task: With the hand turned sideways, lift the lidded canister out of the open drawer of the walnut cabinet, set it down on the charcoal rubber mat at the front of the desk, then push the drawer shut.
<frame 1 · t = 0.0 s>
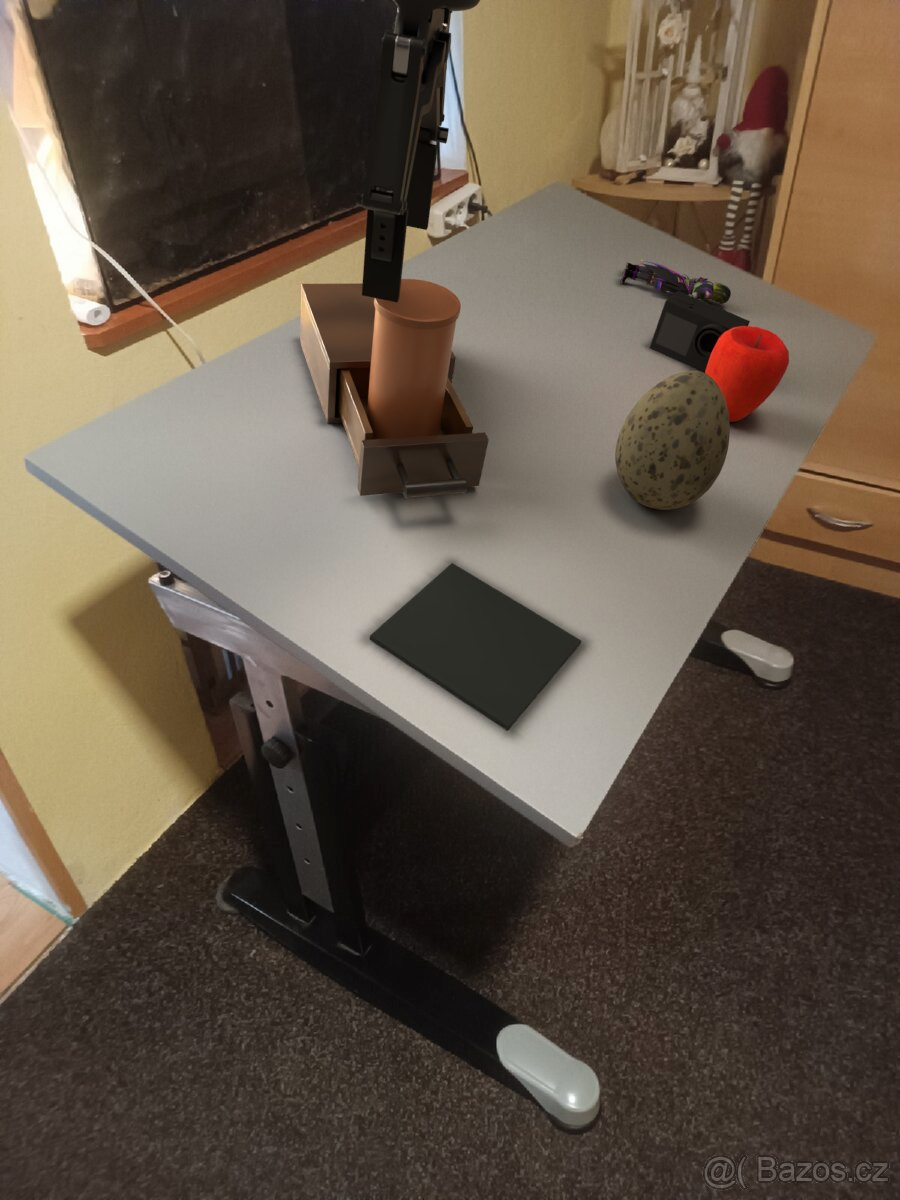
hand: (397, 259, 66), 24 cm above the table, tool pointing down, fingers open, 13 cm apart
apple: (723, 416, 103), on the table
mat: (476, 642, 71), on the table
cabinet: (370, 379, 97), on the table
decorative egg: (649, 500, 89), on the table
digital camera: (686, 361, 111), on the table
drawer: (409, 433, 84), point 4 cm above the table, slide at 12.0 cm, touching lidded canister
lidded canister: (401, 434, 87), point 2 cm above the table, touching drawer
character figure: (672, 296, 124), on the table
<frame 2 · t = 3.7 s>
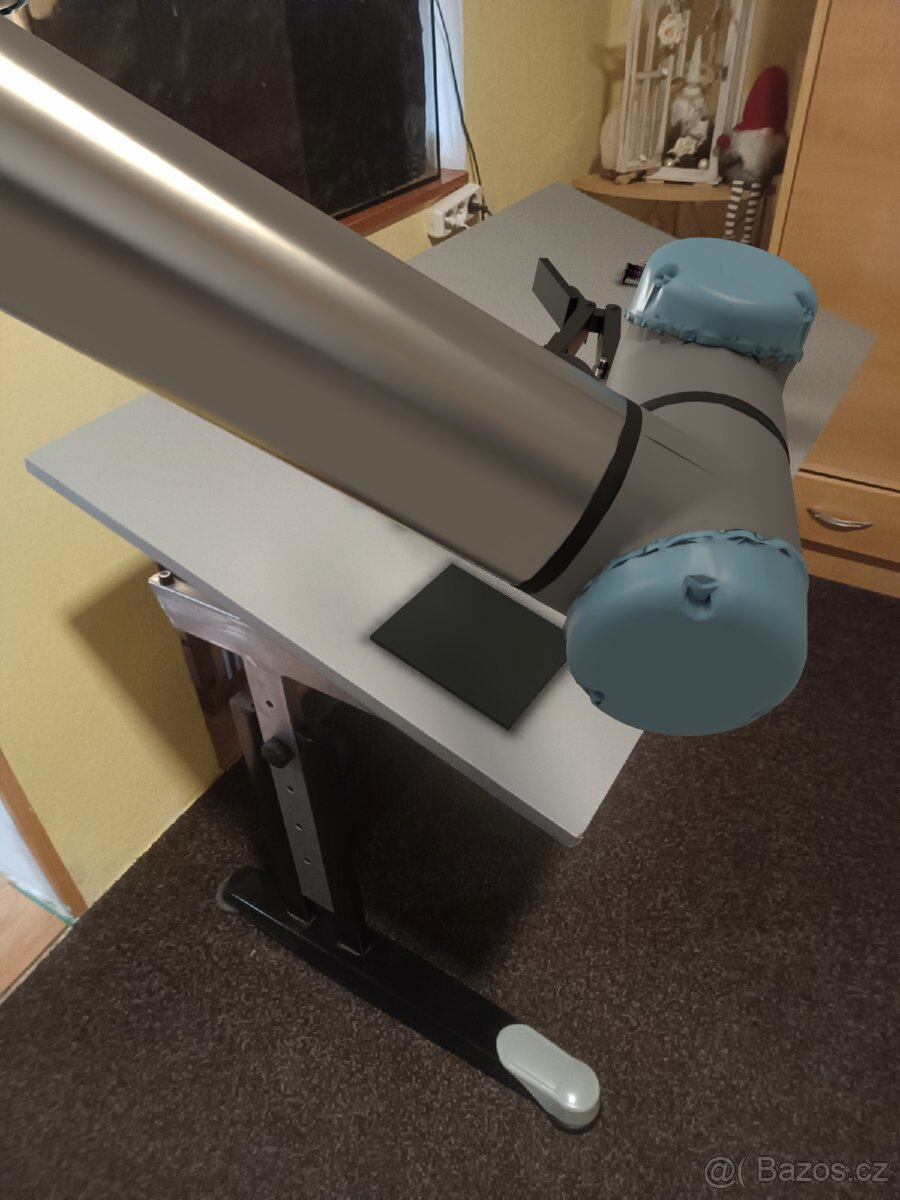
hand: (459, 274, 65), 24 cm above the table, tool horizontal, fingers open, 13 cm apart
nothing on the table moved.
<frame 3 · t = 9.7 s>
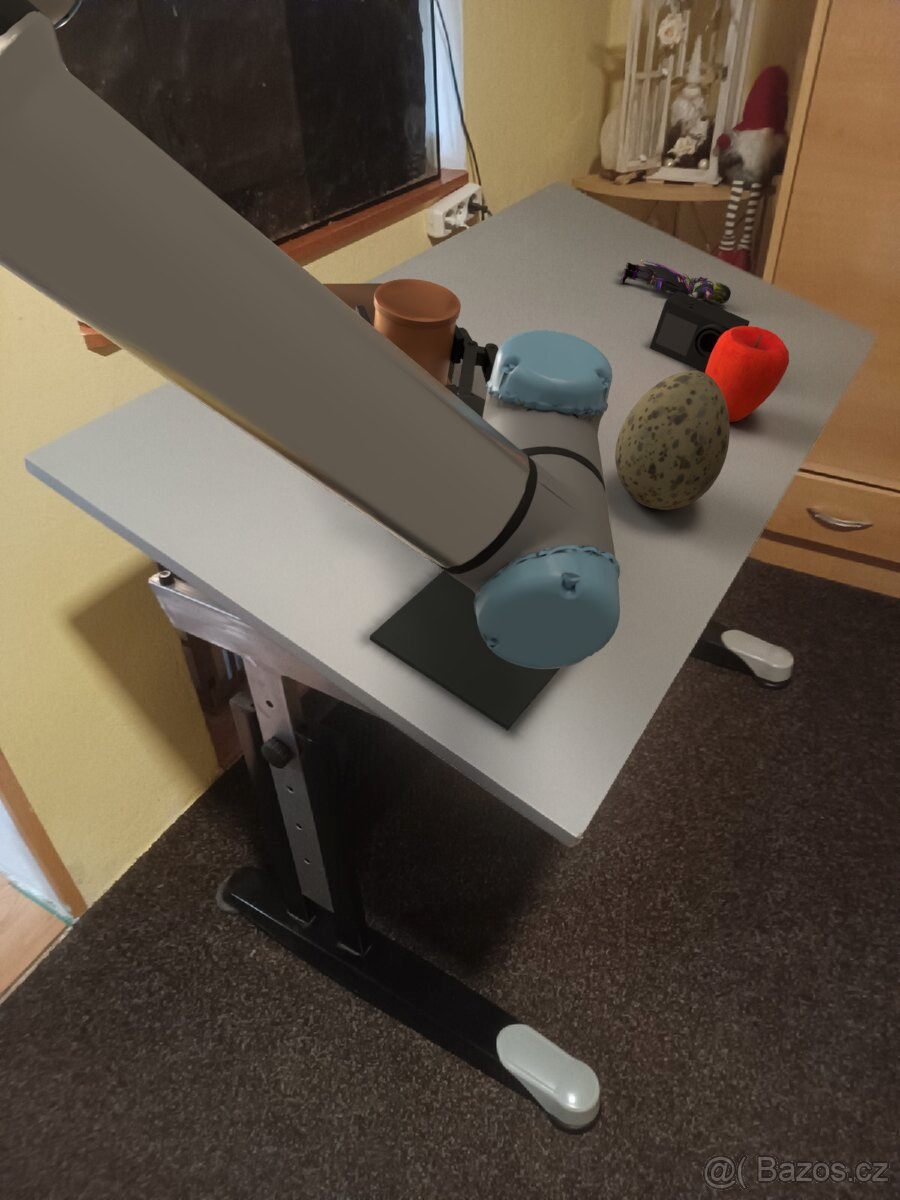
hand: (399, 317, 82), 13 cm above the table, tool horizontal, fingers closed on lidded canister, 8 cm apart
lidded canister: (401, 434, 87), point 2 cm above the table, touching drawer, gripper
everything else where it was.
when the fingers open (11 cm above the table, at t = 20.0 s): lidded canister stays where it is, resting on mat.
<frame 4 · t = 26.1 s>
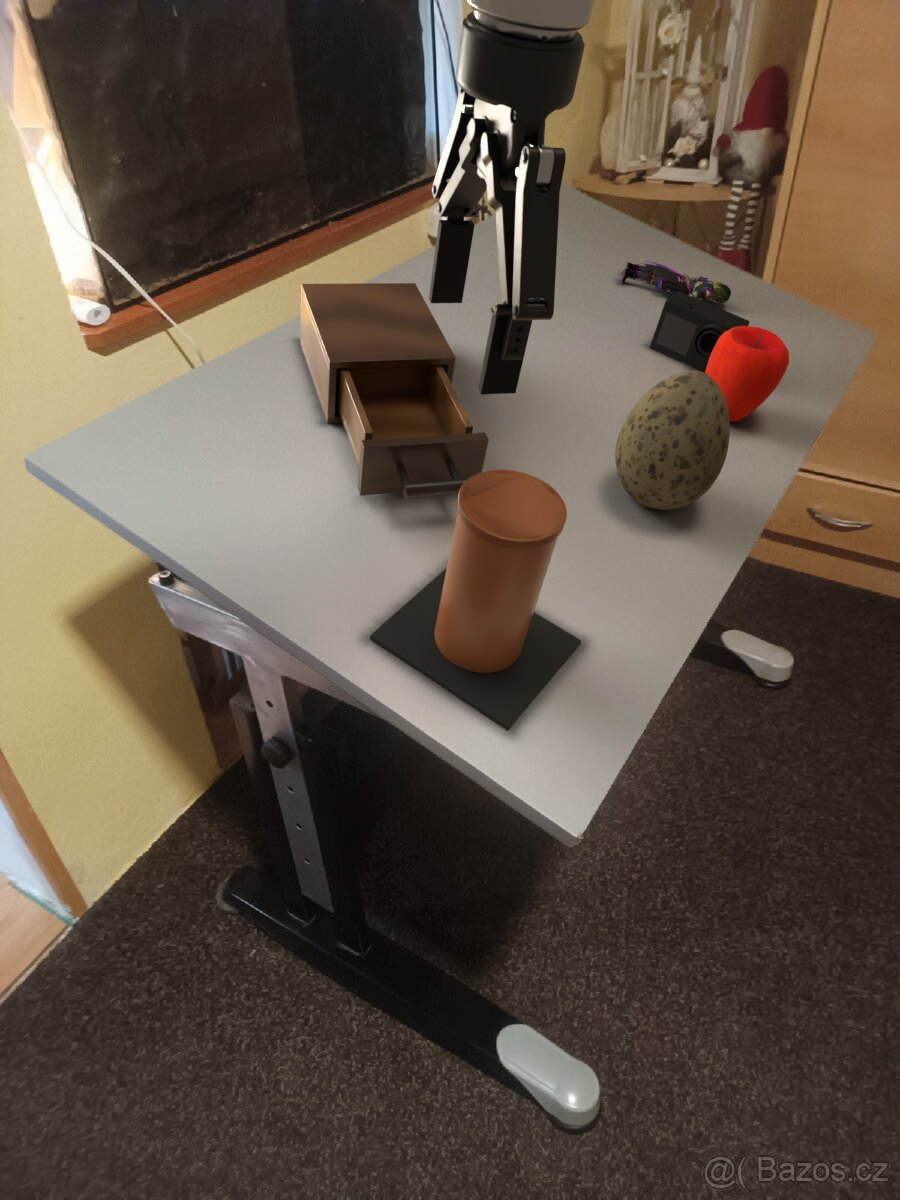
hand: (469, 343, 65), 20 cm above the table, tool pointing down, fingers open, 13 cm apart
drawer: (409, 433, 84), point 4 cm above the table, slide at 12.0 cm
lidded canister: (478, 638, 71), point 1 cm above the table, touching mat
everything else where it was.
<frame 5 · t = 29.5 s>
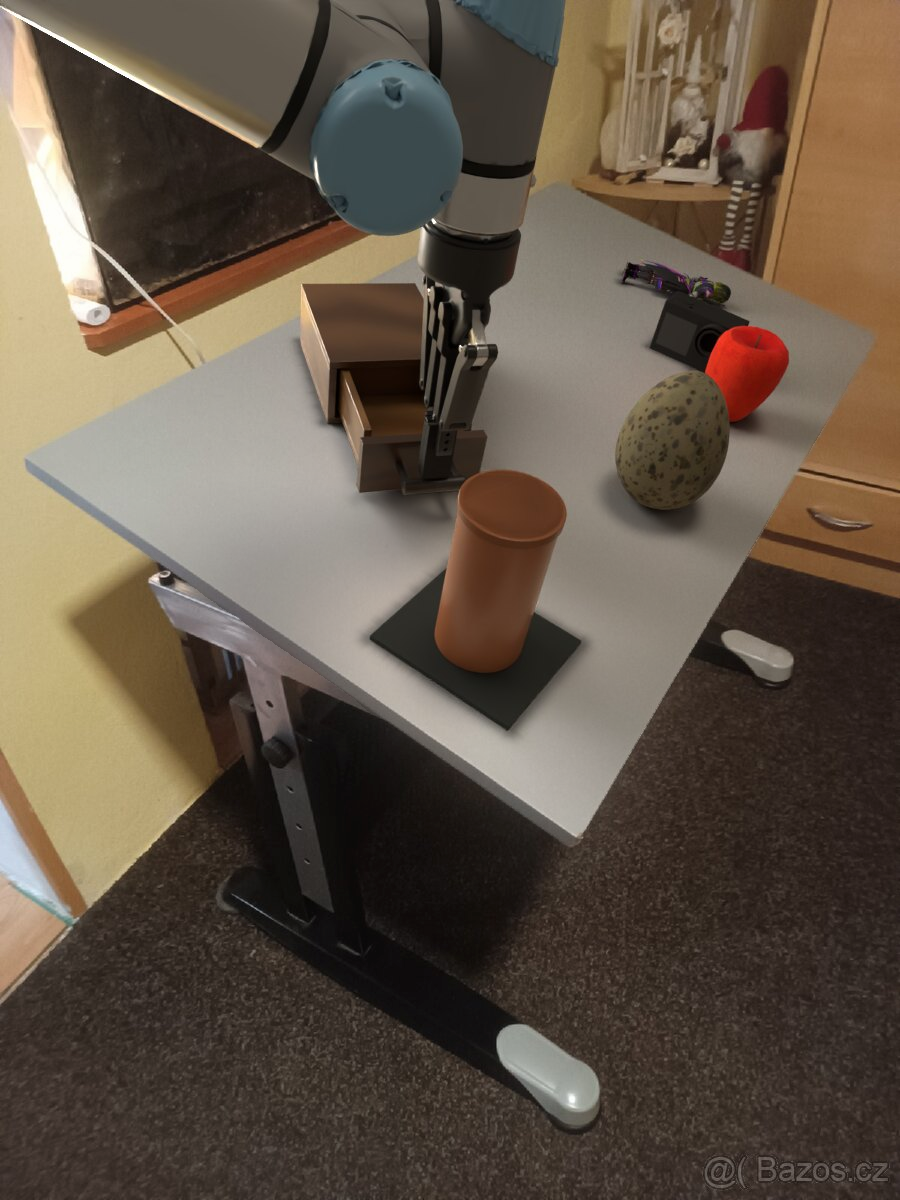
hand: (433, 473, 78), 5 cm above the table, tool pointing down, fingers closed
drawer: (408, 430, 84), point 4 cm above the table, slide at 11.5 cm, touching gripper
everything else where it was.
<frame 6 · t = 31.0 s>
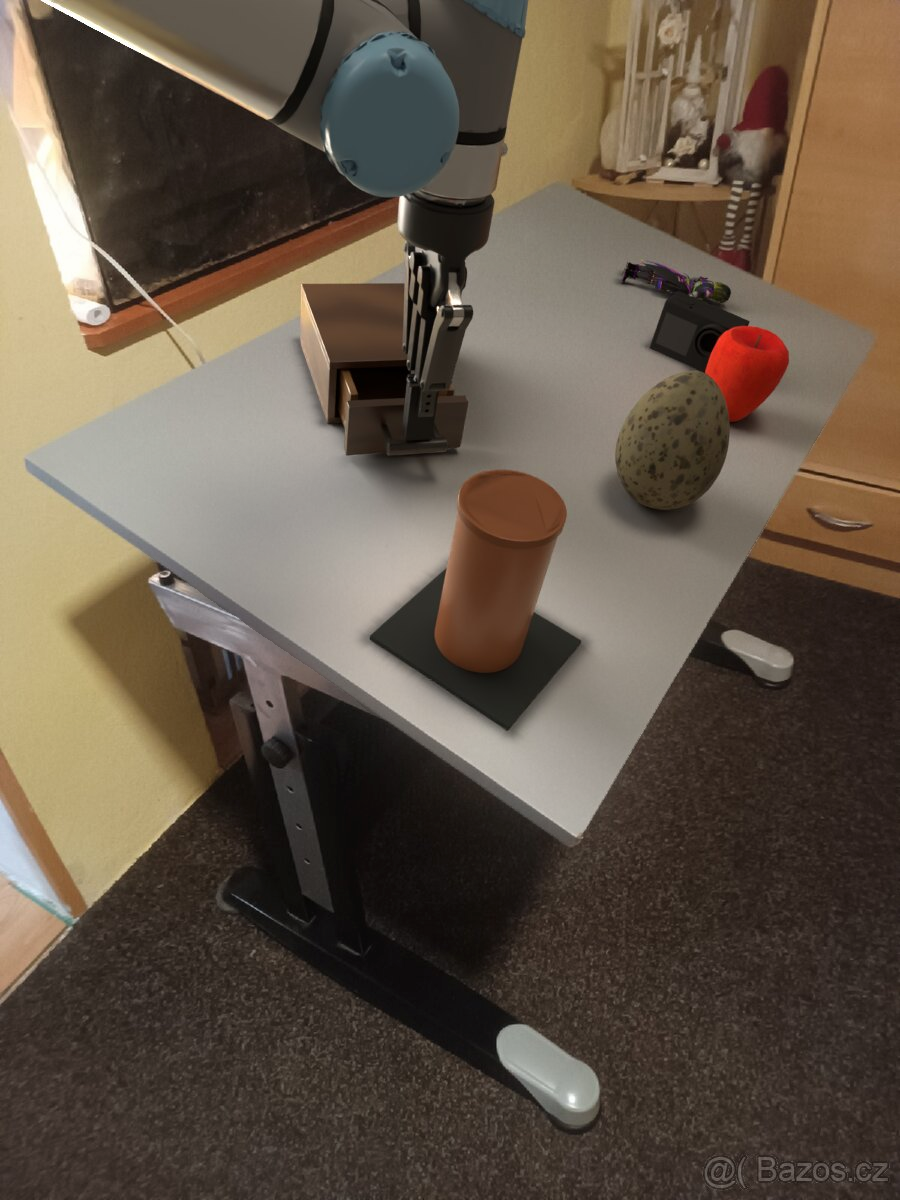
hand: (416, 435, 82), 5 cm above the table, tool pointing down, fingers closed
drawer: (393, 397, 88), point 4 cm above the table, slide at 5.5 cm, touching gripper
everything else where it was.
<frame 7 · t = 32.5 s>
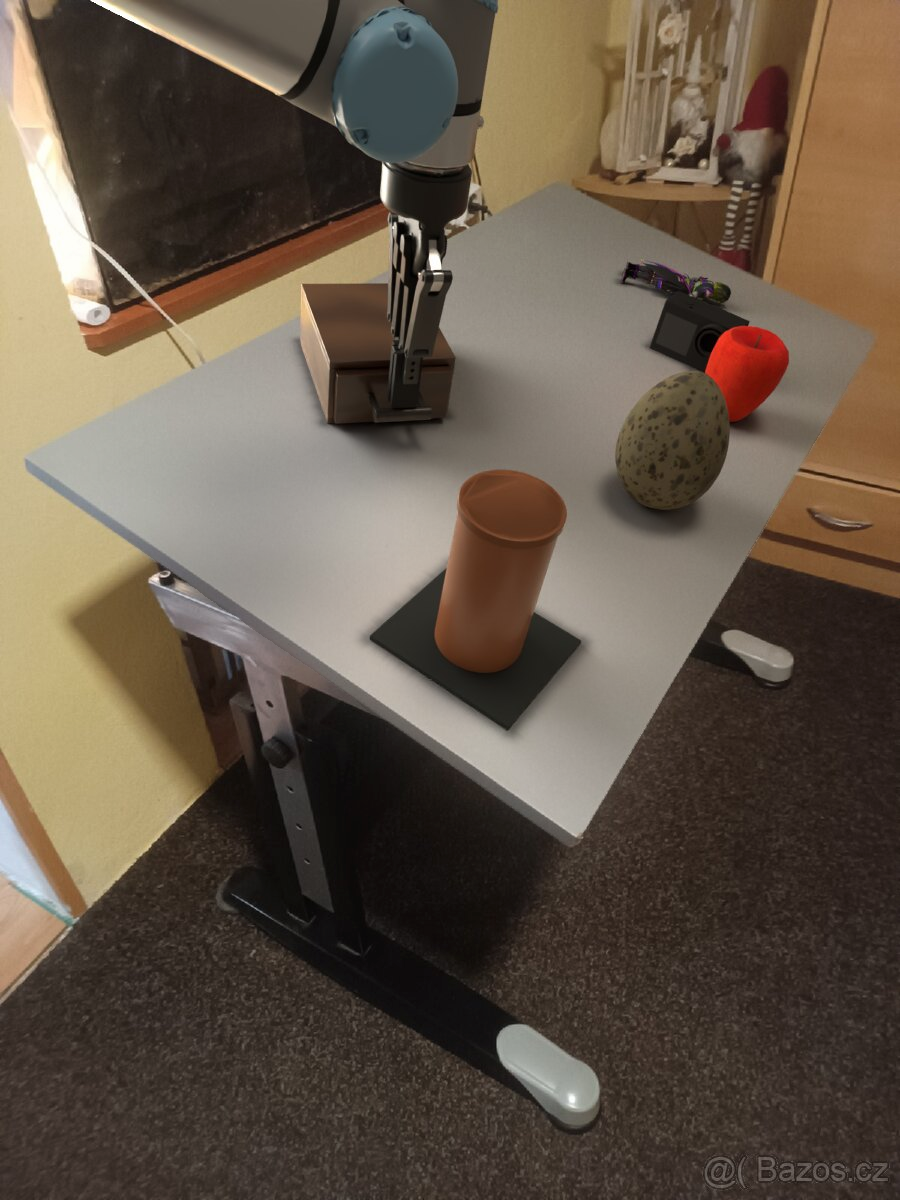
hand: (401, 401, 85), 5 cm above the table, tool pointing down, fingers closed
drawer: (381, 368, 92), point 4 cm above the table, slide at 0.0 cm, touching gripper
everything else where it was.
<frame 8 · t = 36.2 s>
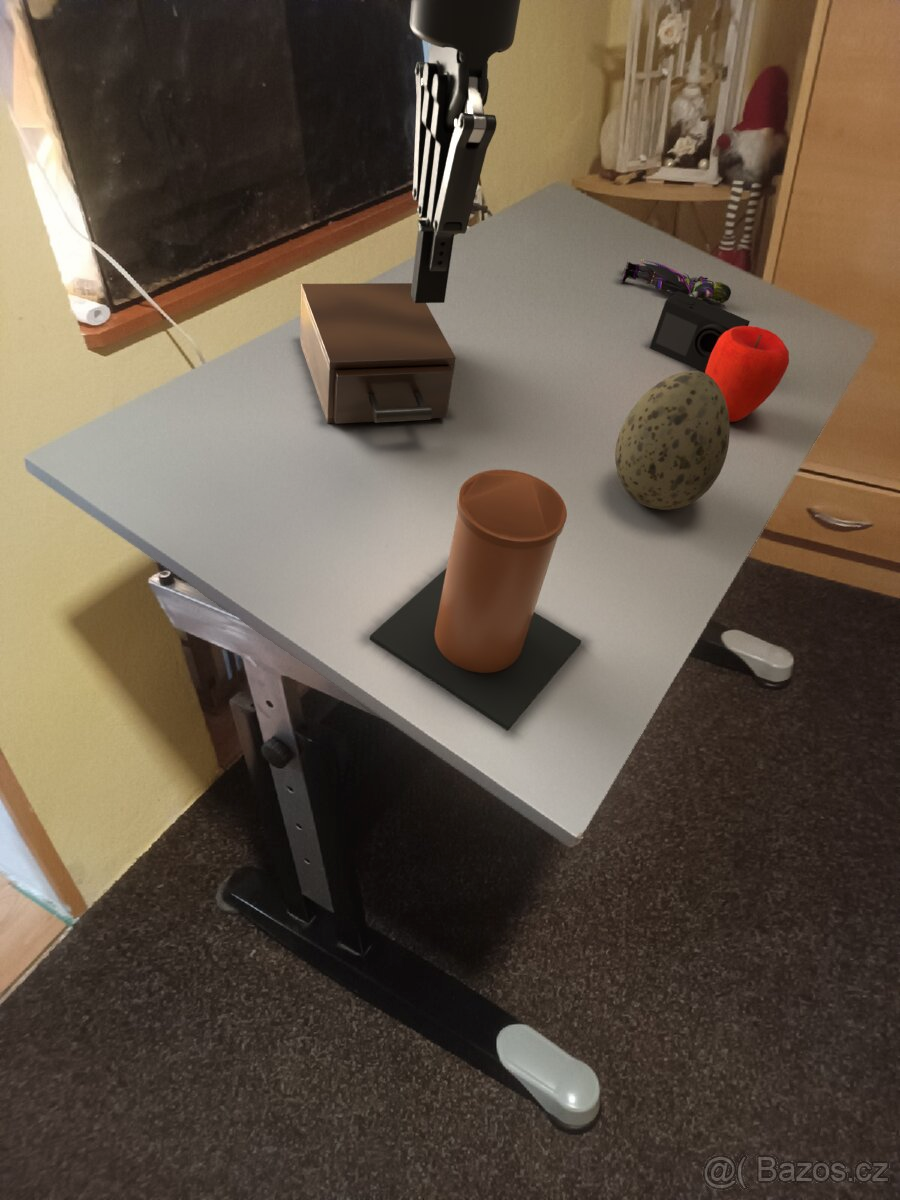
hand: (427, 298, 73), 18 cm above the table, tool pointing down, fingers closed
drawer: (381, 368, 92), point 4 cm above the table, slide at 0.0 cm, touching cabinet
everything else where it was.
at the end: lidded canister inside the target area on the mat (0.7 cm from its centre), point 0.6 cm above the mat's base; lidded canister tilted 0°; drawer slide at 0.0 cm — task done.
